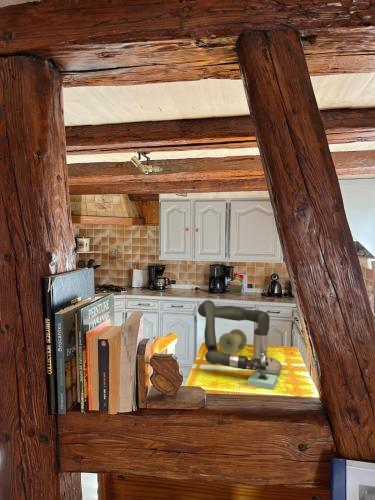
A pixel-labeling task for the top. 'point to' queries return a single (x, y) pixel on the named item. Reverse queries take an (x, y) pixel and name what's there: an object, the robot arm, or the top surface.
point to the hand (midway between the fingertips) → (267, 366)
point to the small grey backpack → (272, 366)
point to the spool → (232, 341)
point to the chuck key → (263, 363)
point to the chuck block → (262, 381)
